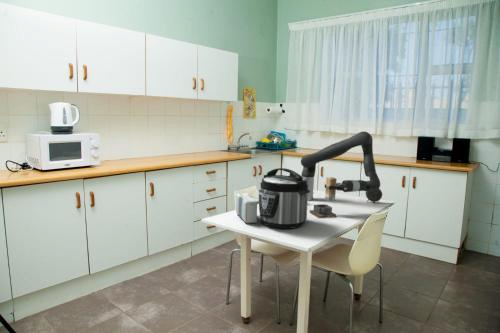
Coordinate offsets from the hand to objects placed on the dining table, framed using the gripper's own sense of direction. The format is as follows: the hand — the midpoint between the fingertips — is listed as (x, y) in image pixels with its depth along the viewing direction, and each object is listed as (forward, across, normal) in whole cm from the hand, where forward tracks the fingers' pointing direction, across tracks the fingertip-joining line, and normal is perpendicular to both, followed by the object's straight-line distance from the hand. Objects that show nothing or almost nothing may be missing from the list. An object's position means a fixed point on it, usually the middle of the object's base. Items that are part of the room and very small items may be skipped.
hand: (327, 186), depth 222 cm
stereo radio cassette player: (+52, -2, +18) cm, 55 cm away
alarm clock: (-50, -19, +18) cm, 57 cm away
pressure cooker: (+34, +10, +18) cm, 40 cm away
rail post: (-3, 0, +8) cm, 9 cm away
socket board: (+2, 0, +18) cm, 18 cm away
